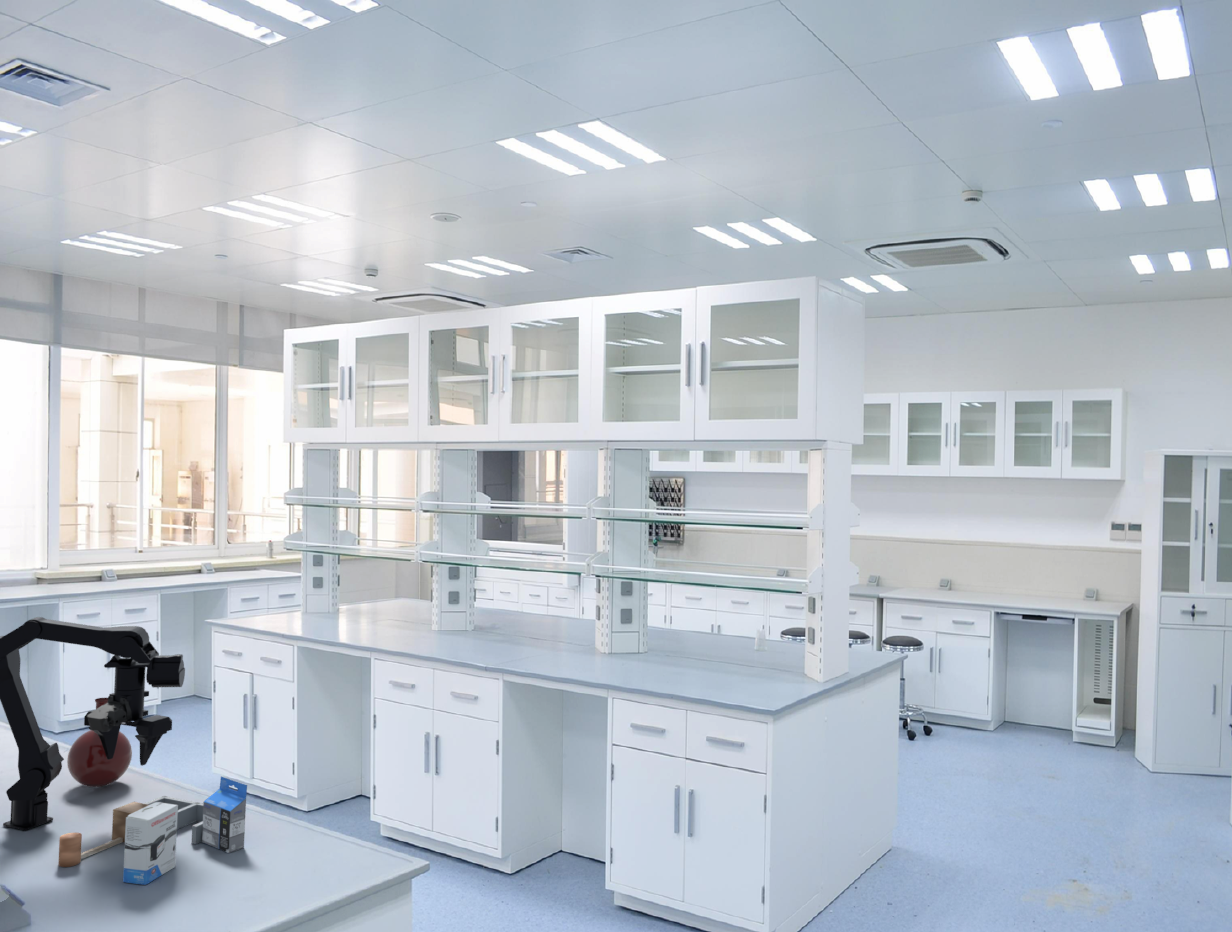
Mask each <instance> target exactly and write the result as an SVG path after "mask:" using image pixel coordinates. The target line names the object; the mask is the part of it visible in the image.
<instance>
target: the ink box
mask: <svg viewBox="0 0 1232 932" xmlns="http://www.w3.org/2000/svg"><path fill="white" fill-rule="evenodd" d="M177 816H178V805H174V804H167V803H161V802H155V803H152V804H150V805H148V806H146V807H144V808H142V809H140V810H138V811H136V812H134V813H132V814H130V815H128V817H126V828H125V843H124V852H123V853H124V854H123V855H124V856H123V879H122V883H127V884H135V885H142V886H144V885H145V886H147V885H149V884H150V883H151V882H153V881H154V880H157V879H159V878H160V877H161V876H163V875H164V874H166V873H167V872H170V871H171V870H172V869H174V868H176V858H177V854H176V853H177V836H178V835H177V834H178V829H177Z"/></svg>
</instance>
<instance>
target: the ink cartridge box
mask: <svg viewBox="0 0 1232 932" xmlns="http://www.w3.org/2000/svg"><path fill="white" fill-rule="evenodd" d="M233 786H234V788H236V789H237V790H235V789H232V788H230V787H233ZM247 790H248V784H245V783H242V782H239V781H236V780H233V779H230V778H227V777H224V776H220V784H219V788H218V789H217V790H216V791H214V792H213V794H211V795H210V796H208V798H206V799H205V800H204V801H203V831H202V842H201V843H203V844H206V845H208V846H210V847H213V848H215V849H218V850H220V851H223V852H225V853H227V854H231V853H235V852H237V851H239V850H242V849H244V848H245V834H246V833H245V831H246V811H247V809H246V808H247V807H246V806H247V797H248V796H247V793H248V791H247Z"/></svg>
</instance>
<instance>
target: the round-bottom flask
mask: <svg viewBox="0 0 1232 932" xmlns="http://www.w3.org/2000/svg"><path fill="white" fill-rule="evenodd" d="M94 702H95V710H96V709H97V708H99V707H100V706H102V705H105V704H106V703H107V702H108V697H97V698H95V699H94ZM67 753H68V754H67V759H66V763H67V769H68V772H69V774H70V776H71V777H72V778H73V779H74V780H75V781H76V782H77V783H79V784H80V785H82V786H85V787H88V788H102V787H105V786H108V785H111V784H113V783H114V782H117V781H118V780H119V779H120V778H122V777H123V775H124V774H125V773H126V771H127V770H128V769H129V767H130V766H131V761H132V757H133V749H132V744H131V742H130V739H128V737H127V736H126V734H125V733H123V732H122V731H119V735H118V739H117V744H116V749H115V752H114V756H113V758H112V759H107V757H106V754H105V751H104V748H103V745H102V742H101V740H100V738H99V735H98V734H97V733H95V732H94V731H92V730H90V729H88V730H87V731H86V732H84V733H82V734H81V735H80V736H78V737H77V739H75V741H74V742H73V743H72V744H71V746H70V748H69V751H68V752H67Z"/></svg>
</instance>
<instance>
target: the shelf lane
mask: <svg viewBox="0 0 1232 932" xmlns="http://www.w3.org/2000/svg"><path fill="white" fill-rule="evenodd" d="M155 802H161V803H167V804H174V805H178V816H177V830H179V829H181V828H184V827H186V826H188V825H191V824H192V823H196V822H198V823H196V824H193V825H192V826H191V844H192V845H197V844H199V843H203V842H202V831H203V803H202V802H198V801H192V800H187V799H182V798H177V797H173V796H172V797H171V796H166V795H163V796H161V797H158V798H155V799H153V800H150V801H147V802H145V803H143V804H148V805H150V804H152V803H155Z"/></svg>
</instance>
